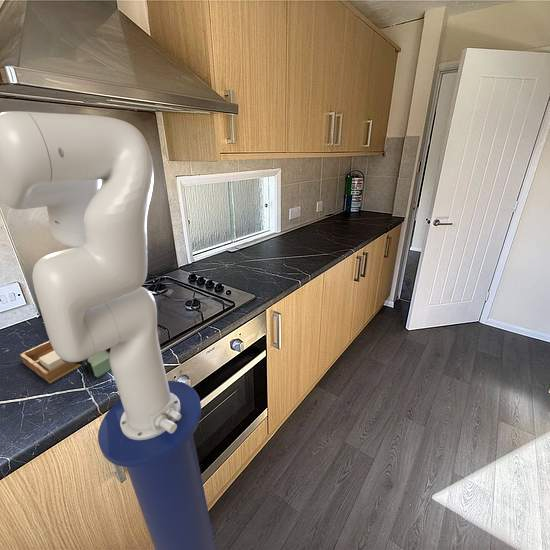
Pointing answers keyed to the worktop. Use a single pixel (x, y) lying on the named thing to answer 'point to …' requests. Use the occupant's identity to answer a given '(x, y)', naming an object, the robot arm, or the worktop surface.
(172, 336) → the worktop surface
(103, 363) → the pad
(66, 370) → the holder
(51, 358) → the pad
